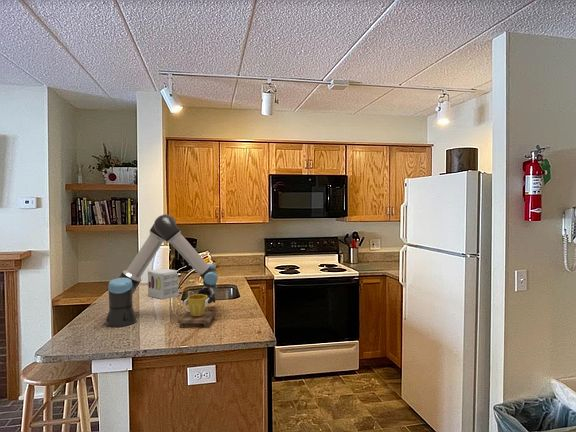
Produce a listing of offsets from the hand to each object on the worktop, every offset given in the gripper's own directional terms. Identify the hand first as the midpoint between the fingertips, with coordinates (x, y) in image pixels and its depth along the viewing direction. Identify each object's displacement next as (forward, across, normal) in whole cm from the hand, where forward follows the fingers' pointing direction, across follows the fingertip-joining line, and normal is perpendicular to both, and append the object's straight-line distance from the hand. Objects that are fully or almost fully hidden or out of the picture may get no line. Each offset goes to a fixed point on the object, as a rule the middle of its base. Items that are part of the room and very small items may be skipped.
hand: (195, 303), depth 199 cm
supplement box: (-65, +41, -12) cm, 78 cm away
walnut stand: (-4, 0, -12) cm, 12 cm away
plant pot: (-4, 0, -7) cm, 8 cm away
